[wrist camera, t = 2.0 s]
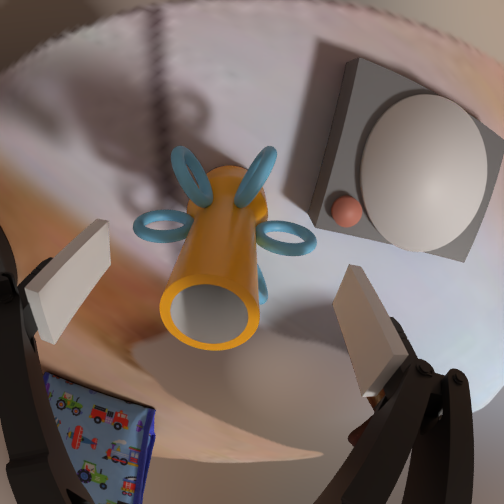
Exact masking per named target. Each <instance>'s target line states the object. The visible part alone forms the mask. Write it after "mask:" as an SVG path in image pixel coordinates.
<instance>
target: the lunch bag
mask: <svg viewBox="0 0 504 504" xmlns="http://www.w3.org/2000/svg"><path fill="white" fill-rule="evenodd" d="M43 379H44V383H45V387H46V391H47V394H48V398H49V402H50V405H51V408H52V412H53V415H54V418H55V421H56V424H57V427H58V430H59V432H60V435H61V438H62V440H63V443H64V446H65V448H66V451H67V453H68V455H69V458H70V460H71V462H72V465H73V467H74V469H75V471H76V473H77V476H78V477H79V479H80V481H81V482H82V484H83V485H84V487H85V488H86V489H87V491H88V492H89V494H90V496H91V497H92V499H93V501H94V503H95V504H117V501H118V500H119V501H122V502H125V503H129V504H142V501H143V492H144V488H145V483H146V478H147V473H148V468H149V464H150V460H151V455H152V450H153V446H154V442H155V436H156V435H155V433H154V415H155V411H156V410H155V409H150V408H147V407H143V406H140V405H136V404H133V403H130V402H126V401H123V400H120V399H117V398H114V397H111V396H107V395H104V394H102V393H99V392H96V391H93V390H90V389H88V388H85V387H82V386H80V385H77V384H74V383H72V382H69V381H67V380H64V379H62V378H59V377H57V376H55V375H51V374H50V373H48V372H45V373H44V375H43Z"/></svg>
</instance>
